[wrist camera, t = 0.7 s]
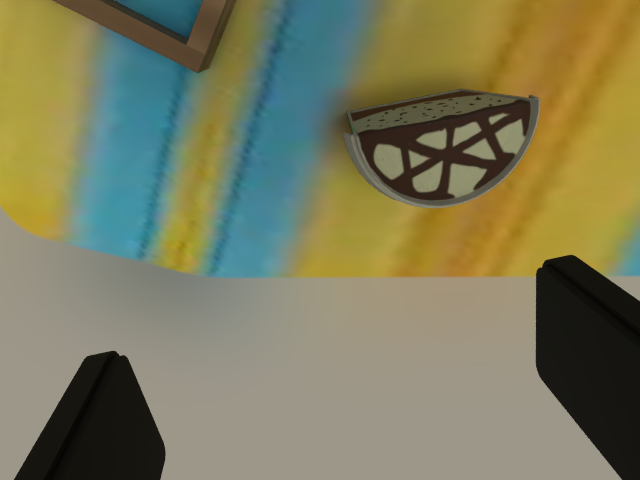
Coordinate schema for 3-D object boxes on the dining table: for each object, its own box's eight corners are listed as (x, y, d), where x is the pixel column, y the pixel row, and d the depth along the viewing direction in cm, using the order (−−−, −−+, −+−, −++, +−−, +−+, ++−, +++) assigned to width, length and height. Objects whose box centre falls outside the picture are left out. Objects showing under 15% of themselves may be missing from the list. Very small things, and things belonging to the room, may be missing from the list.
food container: (340, 189, 40) (362, 233, 30) (327, 115, 37) (347, 138, 28) (483, 160, 40) (547, 194, 31) (480, 84, 37) (549, 98, 28)
